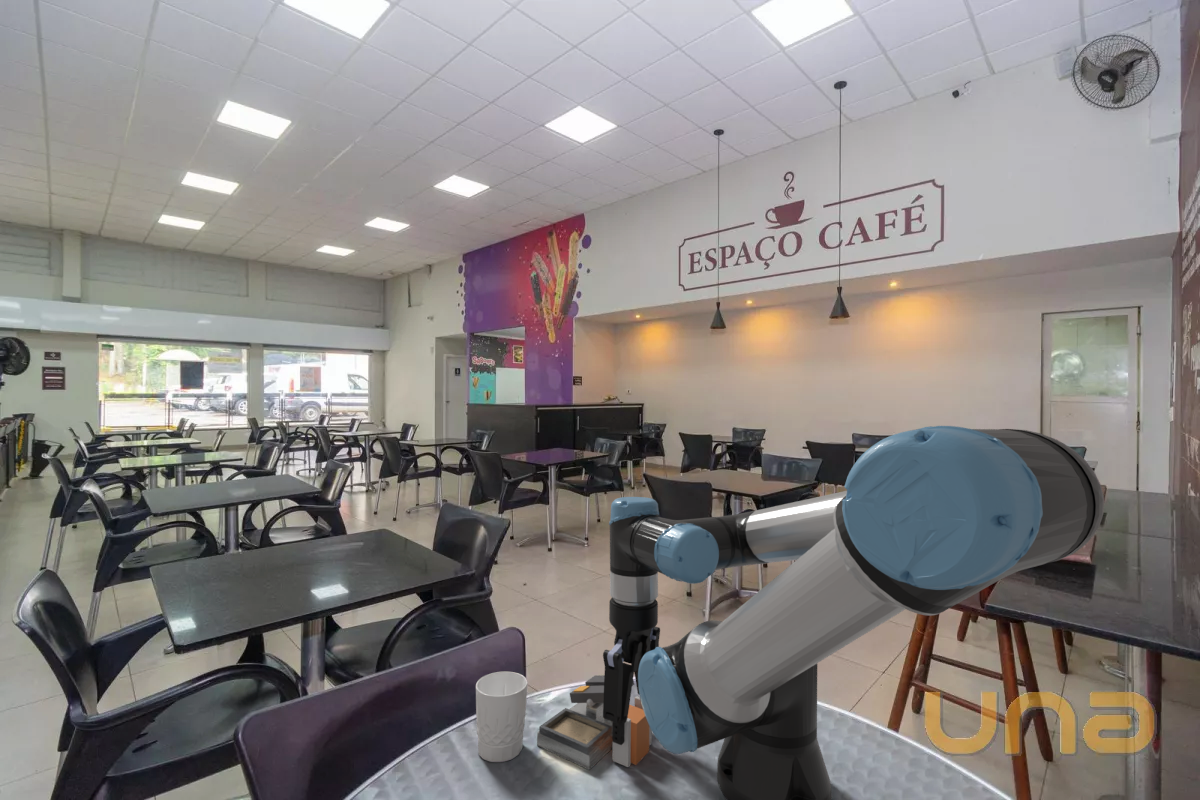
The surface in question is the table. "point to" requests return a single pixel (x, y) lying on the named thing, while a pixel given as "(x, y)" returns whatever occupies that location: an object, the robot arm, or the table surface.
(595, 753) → the gray metal tray
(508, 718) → the white cup
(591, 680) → the block
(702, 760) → the table surface
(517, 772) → the table surface
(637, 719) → the cap
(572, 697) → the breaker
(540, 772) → the table surface
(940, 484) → the robot arm
